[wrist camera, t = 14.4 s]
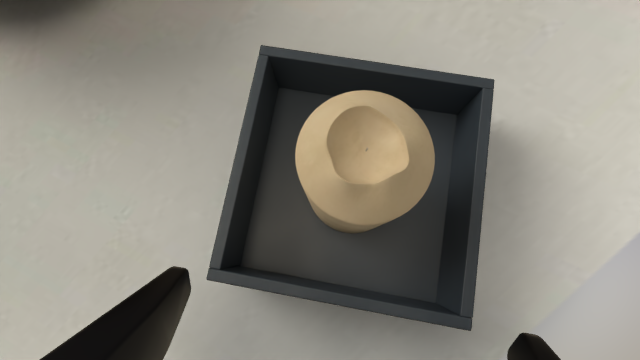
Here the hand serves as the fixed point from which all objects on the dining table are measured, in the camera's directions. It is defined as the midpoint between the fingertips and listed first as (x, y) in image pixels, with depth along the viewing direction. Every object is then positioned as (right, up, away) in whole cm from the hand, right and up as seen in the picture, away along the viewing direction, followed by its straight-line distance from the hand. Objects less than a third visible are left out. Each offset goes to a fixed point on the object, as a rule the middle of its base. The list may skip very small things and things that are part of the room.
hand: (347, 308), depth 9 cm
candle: (+1, +3, +13) cm, 13 cm away
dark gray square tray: (+1, +3, +13) cm, 14 cm away
